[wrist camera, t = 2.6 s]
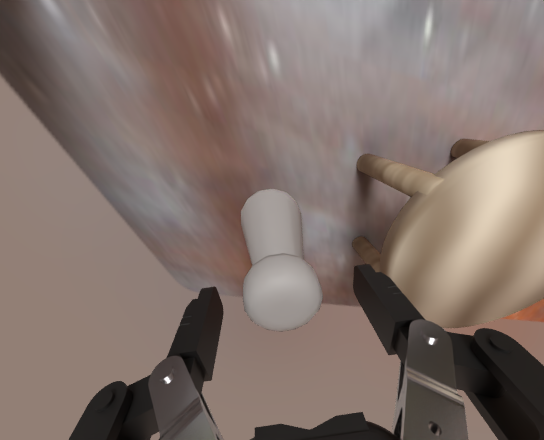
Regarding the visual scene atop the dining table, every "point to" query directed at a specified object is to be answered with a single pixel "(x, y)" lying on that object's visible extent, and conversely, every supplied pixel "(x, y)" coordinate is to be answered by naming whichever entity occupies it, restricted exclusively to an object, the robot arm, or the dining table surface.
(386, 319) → the robot arm
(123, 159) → the dining table surface
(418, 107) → the dining table surface
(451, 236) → the stool
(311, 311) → the salt shaker
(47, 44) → the dining table surface
